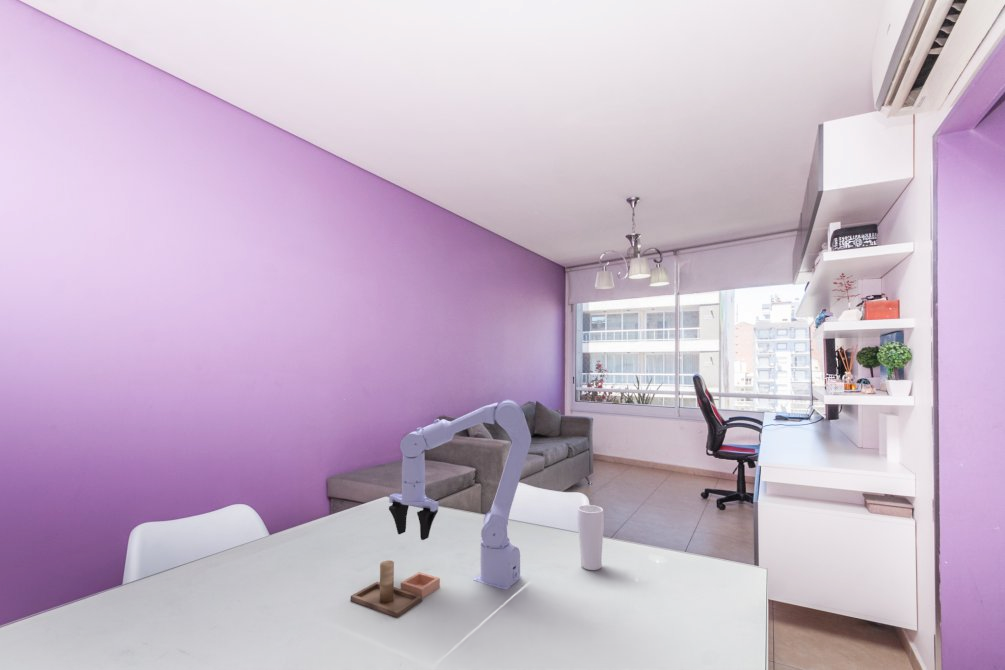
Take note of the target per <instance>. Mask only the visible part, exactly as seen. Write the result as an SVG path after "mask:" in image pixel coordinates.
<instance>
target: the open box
mask: <svg viewBox="0 0 1005 670" xmlns="http://www.w3.org/2000/svg"><path fill="white" fill-rule="evenodd" d="M440 579H441V578H440V577H437V576H433V575H430V574H427V573H423V572H417V573H415V574H414V575H412V576H410V577H408V578H406V579H405V580H402V581H401V582H400V589H401V590H405V591H408V592H411V593H414V594H417V595H420V596H422V599H424V598H425V597H427V596H428V595H430V594H431V593H434V591H437V590H438V589H439V588H440V587H441V584H440V583H441V580H440Z"/></svg>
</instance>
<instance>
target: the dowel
mask: <svg viewBox="0 0 1005 670" xmlns="http://www.w3.org/2000/svg"><path fill="white" fill-rule="evenodd" d="M394 569H395V562H394V561H393V560H390V559H389V560H383V561H381V562H380V564H379V582H380V602H381V603H384V604H386V603H390V602H392V601H393V598H394V587H395V586H394V585H395V583H394V581H395V580H394V577H395V575H394V574H395V570H394Z"/></svg>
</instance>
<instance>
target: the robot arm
mask: <svg viewBox="0 0 1005 670" xmlns="http://www.w3.org/2000/svg"><path fill="white" fill-rule="evenodd" d="M495 422H496V423H497V424H498V425H499V426H500V427H501V428H502V429H503V430H505V432H506V433H507V435H508V437H509V438H510V440H511V444H510V447H509V450H508V454H507V456H506V460H505V463H504V466H503V470H502V473H501V477H500V479H499V480H500V481H499V483H498V486H497V490H496V493H495V497H494V499H493V502H492V504H491V508H490V510H489V511H488V512H486V514H485V515H484V518H483V526H482V528H481V532H480V537H481V539H480V573H479V575H478V576H476V577H474V578H473V581H474V582H478V583H481V584H484V585H487V586H491V587H494V588H498V589H502V590H508V589H510V587H512V586H513V585H514V584H515V583H516V582H518V581H519V580H520V579H521V578H522V575H521V551H520V548H519V547H517V546H515V545H513V544H512V543H511V542H510V538H509V537H508V526H509V517H510V512H511V509H512V506H513V502H514V499H515V496H516V492H517V489H518V486H519V482H520V479H521V475H522V472H523V469H524V466H525V464H526V460H527V456H528V453H529V450H530V446H531V443H532V435H531V432H530V429H529V426H528V423H527V420H526V417H525V413H524V411H523V409H522V407H520V405H519V404H518V403H517V402H516V401H515V400H512V399H504V400H502V401H500V402H494V403H491V404H488V405H484V406H481V407H479V408H477V409H476V410H473V411H471V412H469V413H467V414H464V415H462V416H460V417H458V418H456V419H453V420H451V421H449V420H448V419H444V418H442V419H441V420H440V419H439V418H437V419H435V420H433V423H431V424H429V425H427V426H424V427H422V426H420V427H417V428H416V430H414V431H411V432H410V433H408V434H406V435H405V436H404V437H403V438H402V439H401V441H400V445H399V448H400V452H401V453H402V462H401V493H392V494H390V495H389V498H388V499H389V500H388V502H389V503H390V504H391V505H390V506H388V511H389V512H390V514H391V516H392V518H393V521H394V525H395V527H396V531H397V535H402V534H404V533H406V529H407V516H408V511H409V507H415V508H420V509H422V510H419V511H417V512H416V514H417V518H418V522H419V530H420V531H419V532H420V540H421V541H424V540H426V539H428V538H429V537H430V532H431V528H432V525H433V522H434V520H435V518H436V516H437V513H438V511H439V501H436V500H434V499H431V498H429V497H428V496H427V495H426V461H425V459H426V458H425V457H426V456H425V450H429V451H430V450H432V449H434V448H437V447H439V446H441V445H444V444H446V443H448V442H450V441H451V442H452V441H453V439H454V435H455V434H457V433H459V432H462V431H464V430H467V429H469V428H472V427H474V426H475V427H476V426H477V425H479V424H484V423H485V424H489V425H490V424H491V425H495Z"/></svg>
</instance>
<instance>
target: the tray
mask: <svg viewBox="0 0 1005 670" xmlns="http://www.w3.org/2000/svg"><path fill="white" fill-rule="evenodd" d="M350 601H351V602H353V603H355V604H358V605H361V606H364V607H367V608H369V609H371V610H374V611H378V612H379V613H383V614H385V615H388V616H391V617H393V618H395V619H397V618H399V617H401V616H403V615H404V614H405V613H407V612H409V611H410V610H411V609H413V608H414V607H416V606H417V605H419V604H420V603H422V602H423V598H422V596H420V595H417V594H414V593H411V592H408V591H405V590H401V588H399V587H398V588H397V587H395V586H394V598H393V601H392V602H390V603H386V604H384V603H381V602H380V581H376V582H374V583H372V584H370V585H368V586H367V587H365V588H363V589H361V590H359V591H357V592H355V593H354V594H352V595H350Z"/></svg>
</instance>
